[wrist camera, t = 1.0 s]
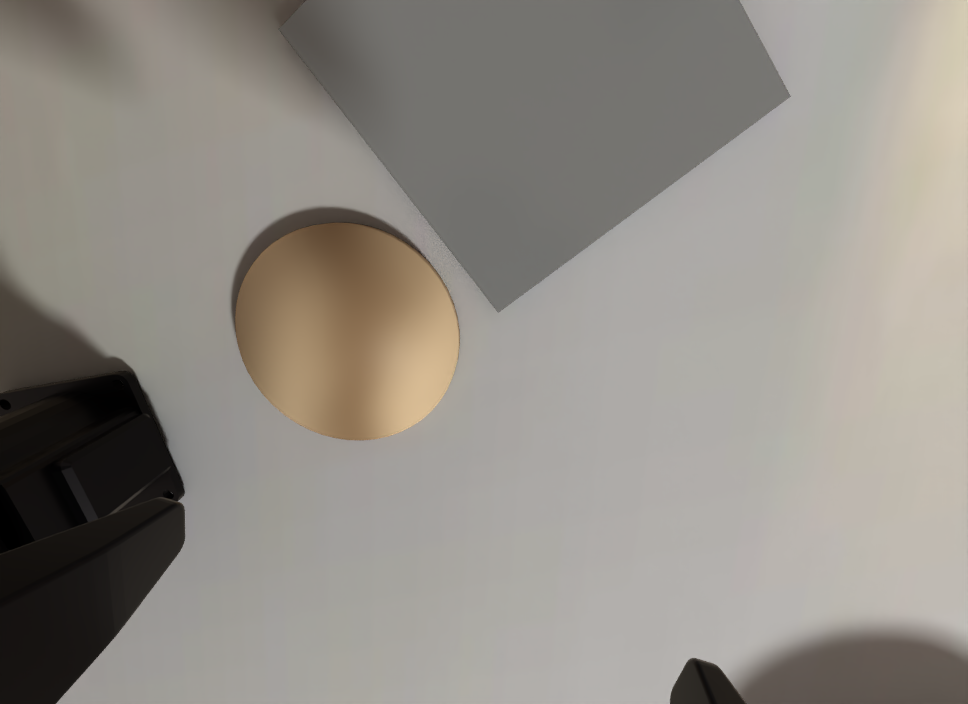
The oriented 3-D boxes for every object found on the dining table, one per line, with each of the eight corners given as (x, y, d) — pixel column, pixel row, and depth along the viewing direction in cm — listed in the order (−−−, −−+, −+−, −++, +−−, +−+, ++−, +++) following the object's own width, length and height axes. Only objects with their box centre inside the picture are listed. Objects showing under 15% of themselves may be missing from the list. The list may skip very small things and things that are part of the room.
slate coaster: (498, 309, 19) (498, 312, 18) (286, 35, 16) (278, 29, 15) (780, 100, 16) (790, 96, 15) (579, -272, 13) (583, -292, 13)
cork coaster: (283, 447, 21) (276, 453, 20) (211, 246, 18) (201, 247, 18) (478, 417, 20) (478, 424, 19) (433, 201, 17) (430, 201, 17)
